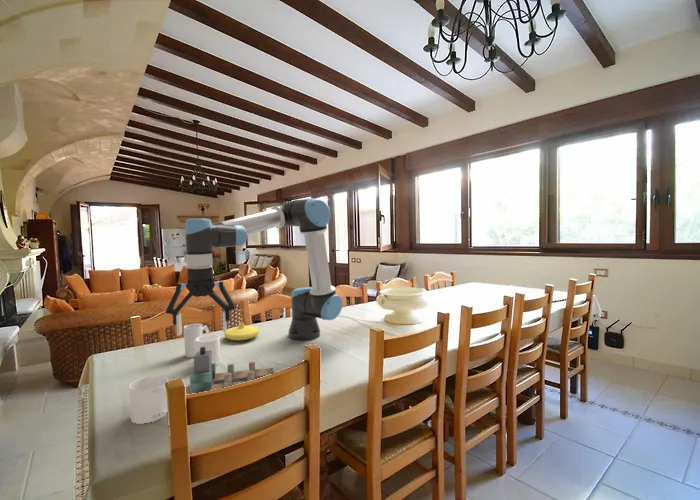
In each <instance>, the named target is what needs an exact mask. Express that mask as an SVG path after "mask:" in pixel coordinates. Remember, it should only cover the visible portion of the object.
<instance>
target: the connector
mask: <svg viewBox="0 0 700 500" xmlns="http://www.w3.org/2000/svg"><path fill="white" fill-rule="evenodd" d="M193 371H194V373H193V374H195V373H205V372H211V376H212V350H211V351H206V350H205V347H200V351H199V352H196V354H195V356H194V357H193Z"/></svg>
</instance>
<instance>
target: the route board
mask: <svg viewBox="0 0 700 500" xmlns="http://www.w3.org/2000/svg"><path fill="white" fill-rule="evenodd" d="M216 367H217V366H216V365H215V362H213V363H212V376H211V372H205V373H195V374H194V373H190V375H189V387H188V389H187V390H186V393H187V394H192V393H199V392H204V391H210V390H215V389H220V388H224V387H228V386H232V385H236V384H239V383H243V382H247V381H250V380H254V379H257V378H260V377H263V376H266V375H269V374H272V373H273V374H274V367H270V368H269V367H268V368H259V369H258V368H257V369H256V361H249V362H248V369H247V370H246V369H245V370H238V371H235V363H227V371H226V372H218V373H217V371H216V369H217V368H216ZM186 393H185V394H186Z"/></svg>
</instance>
